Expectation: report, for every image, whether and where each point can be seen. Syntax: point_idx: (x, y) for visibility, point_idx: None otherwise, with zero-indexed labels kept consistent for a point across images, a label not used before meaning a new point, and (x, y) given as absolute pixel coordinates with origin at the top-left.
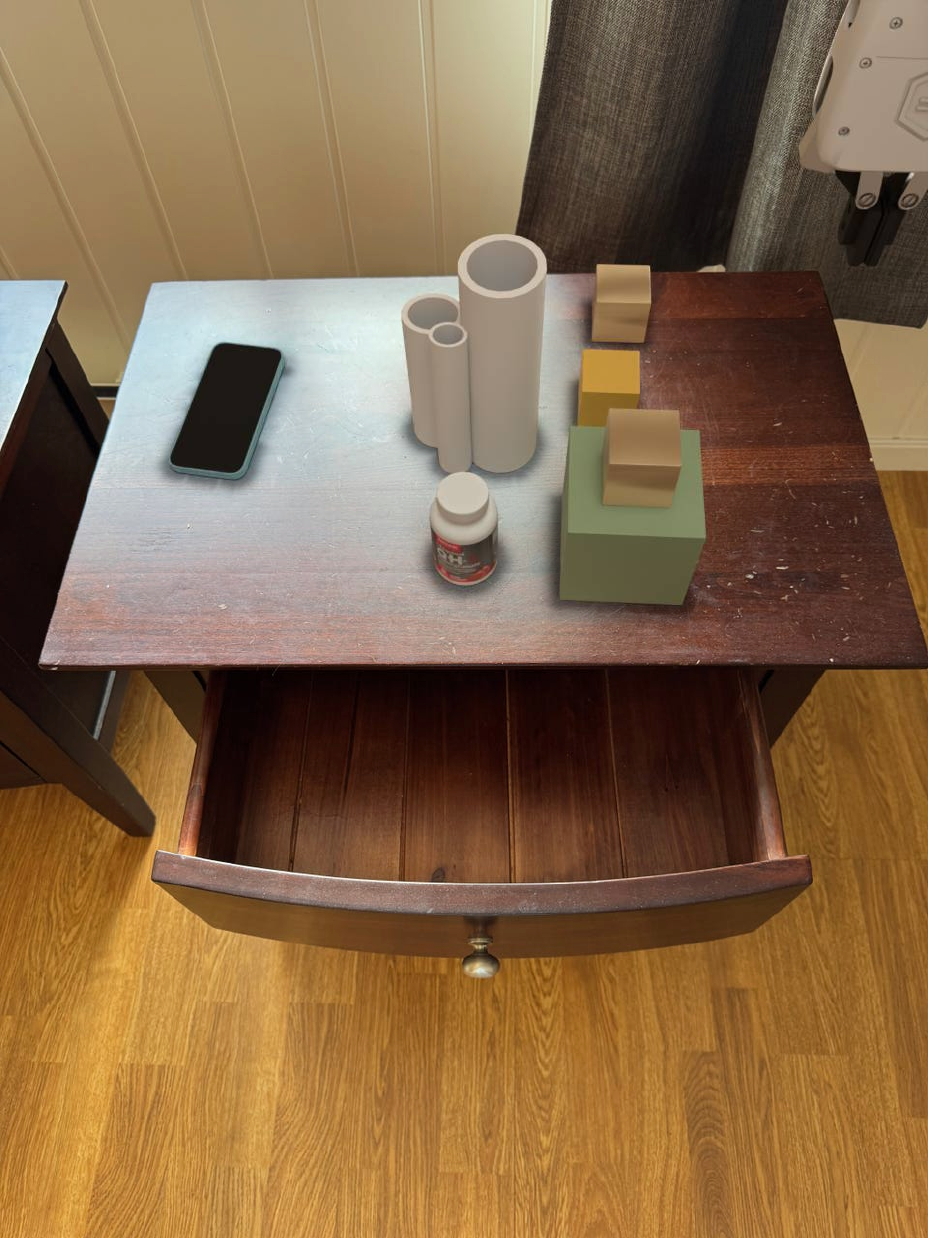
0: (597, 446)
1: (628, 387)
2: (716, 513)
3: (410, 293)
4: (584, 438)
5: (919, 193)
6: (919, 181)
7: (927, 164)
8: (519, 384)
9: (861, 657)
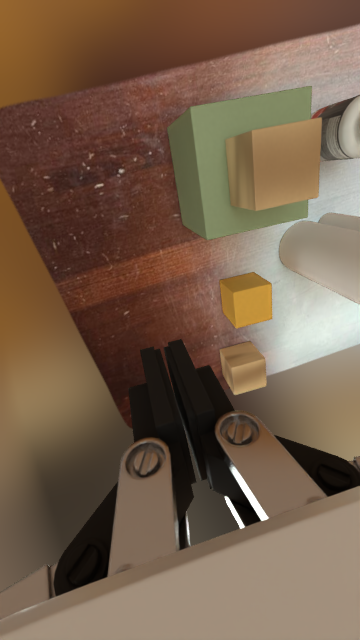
0: None
1: (241, 295)
2: (154, 225)
3: (352, 342)
4: (297, 205)
5: (130, 481)
6: (148, 512)
7: (190, 604)
8: (350, 243)
9: (15, 104)
